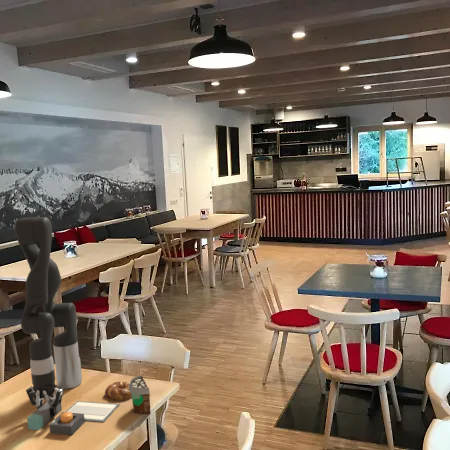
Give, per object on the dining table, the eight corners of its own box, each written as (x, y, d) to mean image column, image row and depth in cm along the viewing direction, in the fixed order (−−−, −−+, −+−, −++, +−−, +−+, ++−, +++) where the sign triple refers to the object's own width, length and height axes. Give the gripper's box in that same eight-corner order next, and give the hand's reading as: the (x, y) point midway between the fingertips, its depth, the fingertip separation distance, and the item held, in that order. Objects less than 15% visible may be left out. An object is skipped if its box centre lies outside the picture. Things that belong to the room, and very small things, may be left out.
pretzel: (141, 395, 183) (140, 386, 182) (114, 405, 176) (114, 395, 176) (126, 384, 192) (126, 376, 192) (100, 393, 186) (100, 384, 185)
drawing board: (77, 401, 180) (77, 400, 180) (119, 405, 176) (119, 403, 176) (59, 418, 168) (58, 417, 168) (103, 422, 164) (103, 420, 164)
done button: (65, 418, 164) (64, 411, 164) (75, 419, 163) (74, 412, 163) (58, 424, 160) (58, 417, 160) (69, 425, 159) (68, 418, 159)
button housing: (63, 420, 167) (63, 412, 166) (84, 422, 165) (84, 413, 164) (50, 433, 159) (49, 424, 159) (71, 435, 157) (71, 426, 157)
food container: (127, 403, 176) (125, 377, 175) (144, 400, 178) (142, 374, 177) (133, 419, 165) (131, 391, 164) (151, 415, 167) (149, 387, 166)
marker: (52, 409, 175) (50, 398, 175) (61, 410, 174) (60, 399, 174) (28, 429, 162) (27, 417, 162) (38, 430, 161) (37, 418, 161)
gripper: (67, 365, 169) (71, 412, 171) (31, 363, 173) (36, 409, 175) (54, 375, 162) (59, 423, 164) (17, 372, 166) (23, 420, 168)
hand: (47, 416), depth 169 cm, fingers closed on marker, 4 cm apart
